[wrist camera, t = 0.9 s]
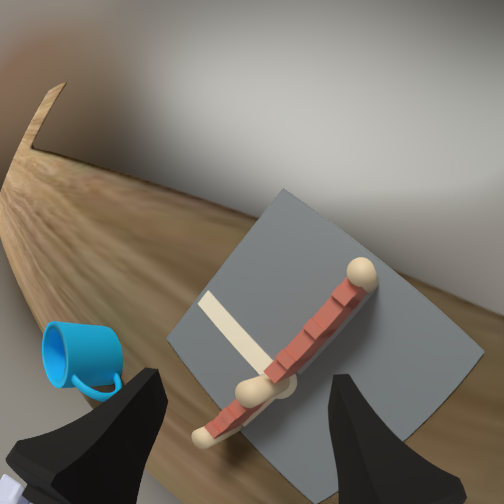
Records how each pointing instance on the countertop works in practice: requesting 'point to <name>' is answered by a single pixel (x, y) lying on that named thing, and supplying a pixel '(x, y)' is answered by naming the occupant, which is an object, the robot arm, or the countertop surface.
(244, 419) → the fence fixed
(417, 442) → the countertop surface
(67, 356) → the mug
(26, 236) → the countertop surface
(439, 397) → the board
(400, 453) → the robot arm
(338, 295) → the fence panel
